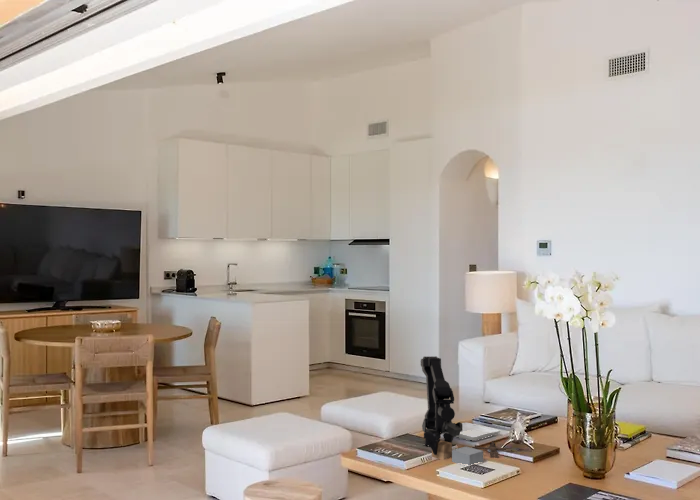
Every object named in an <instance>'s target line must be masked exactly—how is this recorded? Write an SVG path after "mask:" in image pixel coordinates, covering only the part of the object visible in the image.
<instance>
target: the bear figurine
mask: <svg viewBox="0 0 700 500" xmlns="http://www.w3.org/2000/svg"><path fill="white" fill-rule="evenodd" d="M471 448H474V449H478V450H483V451H484V450H487V451H489V457H490V458H495V459H498V458H499V452H498V451H504V450H506V449H512V447H509V448H505V447H501V448H500V447H498V446H497V445H496V443H495V442H494V441H492V442H490V443H489V445H488V446H487V447H484V446H483V447H482V446H478V445H474V446H471Z"/></svg>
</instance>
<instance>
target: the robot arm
mask: <svg viewBox="0 0 700 500" xmlns="http://www.w3.org/2000/svg"><path fill="white" fill-rule="evenodd" d="M420 367H421V371H422V373H423V374H424V375H425V378H426V382H425V383H426V396H427V397H426V398H427V410H426V412H425V414H424V418H423V421H422V424H421V427H422V430H421V431H422V432H423V439H425V442H424V443H423V444H425V445H429V446H428V447H430V449H431V452H432V451H433V453H434V455H437V449H438V443H439V441H440V440H441V435H442V436H443V439H444V440H443V441H446V442H451V443H452V444H453V439H454V438H456V436H457V435H458V436H459V434H460V432H461V431H463V429H462V423H463V422H460V421H459V422H452V420H454V418H455V415H456V413H455V410H454V409H453V408H452V407H451V404H455V396H454V390H453V389H452V388H451V386H450V383H449V382H448V381H446V380H445V379H446V378H445V376H444V372H443V369H442V358H441V357H438V356H423V357H422V358H420ZM425 445H424V446H425Z"/></svg>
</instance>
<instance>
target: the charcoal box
mask: <svg viewBox="0 0 700 500" xmlns="http://www.w3.org/2000/svg"><path fill="white" fill-rule="evenodd" d="M478 462H483V463H484V450H483V449H474V448H472V447H469V446H467V445H466V446H462V447H459V448H456V449H452V457H451V463H454V464H458V463H462V464H468V465H471V464H474V463H478Z"/></svg>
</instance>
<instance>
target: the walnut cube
mask: <svg viewBox="0 0 700 500" xmlns="http://www.w3.org/2000/svg"><path fill="white" fill-rule="evenodd" d="M452 450H453V442H452V443H451V442H446V441H444V440H442V439H440V441H439V443H438V449H437V455H434V453H433V451H432V450H431V458H435V459H440V460H442V461H443V460H447V459H449V458H452Z"/></svg>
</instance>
